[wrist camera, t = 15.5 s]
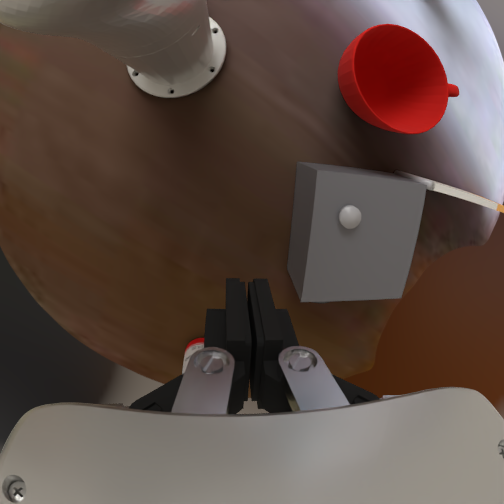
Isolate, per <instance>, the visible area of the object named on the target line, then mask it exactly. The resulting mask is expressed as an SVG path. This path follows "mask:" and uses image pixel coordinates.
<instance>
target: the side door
mask: <svg viewBox="0 0 504 504" xmlns="http://www.w3.org/2000/svg"><path fill="white" fill-rule="evenodd" d="M394 174H396V175H399V176H402V177H405V178H408V179H411V180H414V181H417V182H420V183H423V184H426V185H427V188H426V189H428V190H434V191H437V192H441V193H444V194H448V195H451V196H454V197H458V198H461V199H464V200H467V201H470V202H474V203H477V204H480V205H483V206H486V207H488V208H491V209H494V210H497V211H500V212H503V213H504V206H503V205H501V204H498V203H496V202H494V201H491V200H489V199H486V198H484V197H481V196H478V195H475V194H473V193H470V192H467V191H464V190H461V189H458V188H455V187H452V186H449V185H446V184H442V183H439V182H436V181H433V180H429V179H426V178H422V177H419V176H416V175H413V174H409V173H406V172H403V171H399V170H395V171H394Z"/></svg>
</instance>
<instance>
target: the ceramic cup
mask: <svg viewBox="0 0 504 504" xmlns="http://www.w3.org/2000/svg"><path fill="white" fill-rule="evenodd" d="M338 83H339V88H340V91H341V93H342V96H343V98H344V100H345V101H346V103H347V105H348V106H349V107H350V108H351V110H352V111H353V112H354V113H355V114H356V115H358V116H359V117H360V118H361V119H363V120H364V121H366V122H368V123H369V124H371V125H373V126H376V127H378V128H381V129H384V130H387V131H392V132H397V133H402V134H419V133H423V132H426V131H428V130H430V129H431V128H433V127H434V126H435V125H436V124H437V123H438V122H439V121H440V120H441V118H442V116H443V115H444V112H445V110H446V107H447V102H448V97H457V96H458V95H459V89H458V87H457V86H456V85H453V84H448V82H447V77H446V73H445V71H444V68H443V65H442V63H441V61H440V59H439V57H438V56H437V54H436V53H435V51H434V50H433V48H432V47H431V46H430V45H429V44H428V43H427V42H426V41H425V40H424V39H423V38H421V37H420V36H419V35H418V34H416V33H415V32H413V31H411V30H409V29H407V28H405V27H402V26H399V25H393V24H382V25H377V26H374V27H371V28H369V29H367V30H366V31H364V32H363V33H361V34H360V35H359V36H357V37H356V38H355V39H354V40H353V41H352V42H351V43H350V45H349V46H348V47H347V48H346V50H345V51H344V53H343V55H342V57H341V60H340V63H339V67H338Z"/></svg>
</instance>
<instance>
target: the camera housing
mask: <svg viewBox="0 0 504 504" xmlns="http://www.w3.org/2000/svg"><path fill="white" fill-rule="evenodd" d="M426 188H427V185H426V184H423V183H420V182H417V181H414V180H411V179H408V178H405V177H402V176H399V175H396V174H393V173H388V172H382V171H375V170H368V169H361V168H353V167H345V166H336V165H327V164H317V163H306V162H297V169H296V181H295V192H294V204H293V214H292V225H291V235H290V244H289V254H288V263H287V270H288V272H289V275H290V277H291V279H292V282H293V284H294V287H295V289H296V291H297V294H298V296H299V299H300V301H301V302H314V303H328V302H331V301H354V300H376V299H394V298H401V297H402V293H403V290H404V287H405V283H406V280H407V276H408V272H409V269H410V265H411V261H412V257H413V253H414V249H415V245H416V240H417V236H418V231H419V227H420V222H421V217H422V211H423V206H424V200H425V194H426Z"/></svg>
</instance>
